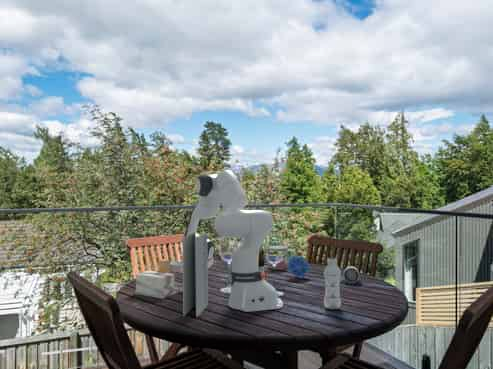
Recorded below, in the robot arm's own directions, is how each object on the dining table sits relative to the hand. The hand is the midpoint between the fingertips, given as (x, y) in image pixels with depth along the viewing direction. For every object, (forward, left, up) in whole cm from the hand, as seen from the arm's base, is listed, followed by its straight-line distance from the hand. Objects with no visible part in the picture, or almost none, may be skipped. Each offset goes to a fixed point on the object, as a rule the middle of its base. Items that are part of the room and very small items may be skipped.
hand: (172, 270), depth 195 cm
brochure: (-13, +36, -9) cm, 39 cm away
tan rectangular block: (+3, +4, -7) cm, 9 cm away
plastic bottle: (-67, +40, -9) cm, 79 cm away
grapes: (-64, -11, -9) cm, 65 cm away
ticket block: (+3, +4, -8) cm, 10 cm away
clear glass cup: (-58, -39, -9) cm, 70 cm away
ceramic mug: (-88, -1, -9) cm, 88 cm away
